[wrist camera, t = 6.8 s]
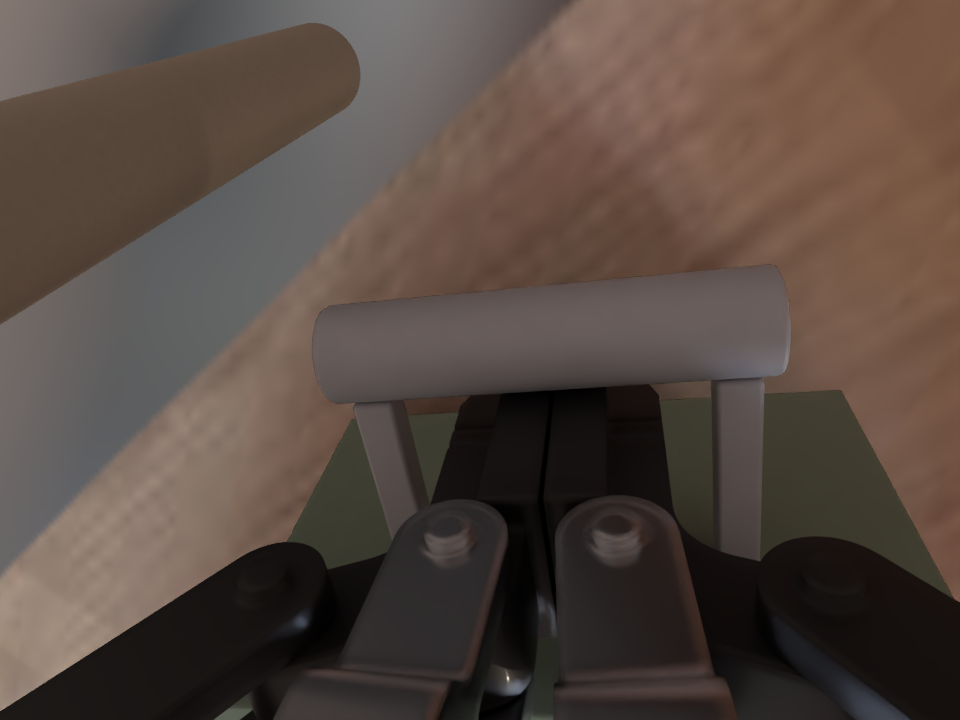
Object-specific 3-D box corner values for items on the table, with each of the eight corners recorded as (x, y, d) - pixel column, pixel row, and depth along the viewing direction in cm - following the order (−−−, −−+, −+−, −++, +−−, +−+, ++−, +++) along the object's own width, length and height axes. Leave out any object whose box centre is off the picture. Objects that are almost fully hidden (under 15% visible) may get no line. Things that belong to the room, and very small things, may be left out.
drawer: (293, 220, 14) (51, 434, 8) (862, 151, 12) (1140, 369, 6) (451, 751, 22) (391, 1064, 16) (808, 766, 20) (902, 1134, 14)
